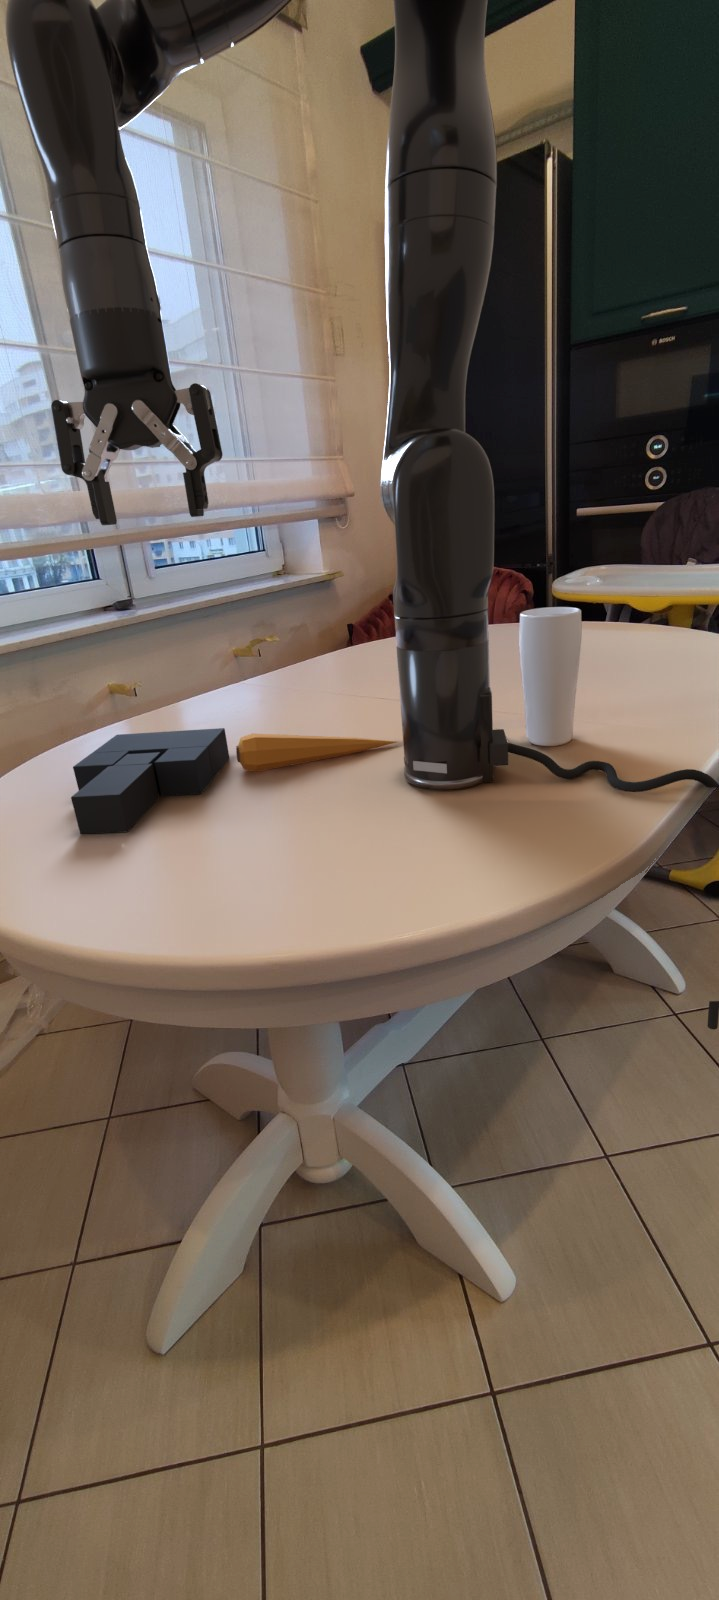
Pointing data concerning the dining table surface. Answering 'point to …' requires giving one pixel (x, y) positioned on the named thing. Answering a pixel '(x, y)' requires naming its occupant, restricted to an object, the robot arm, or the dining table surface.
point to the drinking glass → (550, 672)
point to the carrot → (296, 749)
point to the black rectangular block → (118, 795)
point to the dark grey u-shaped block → (165, 758)
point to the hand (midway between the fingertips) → (153, 520)
